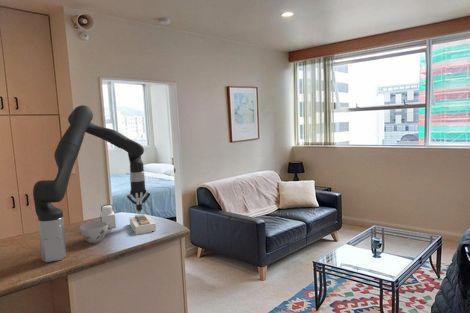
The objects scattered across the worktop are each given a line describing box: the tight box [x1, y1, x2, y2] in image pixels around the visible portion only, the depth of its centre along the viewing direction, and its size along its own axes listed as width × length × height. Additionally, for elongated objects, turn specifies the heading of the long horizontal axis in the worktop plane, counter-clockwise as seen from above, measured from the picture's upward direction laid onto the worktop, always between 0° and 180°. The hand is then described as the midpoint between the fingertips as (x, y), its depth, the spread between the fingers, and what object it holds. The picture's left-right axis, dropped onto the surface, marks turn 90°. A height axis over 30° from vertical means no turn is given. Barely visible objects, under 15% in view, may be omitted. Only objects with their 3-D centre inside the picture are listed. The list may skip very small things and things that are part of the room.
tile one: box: [139, 219, 150, 225], centre depth 172 cm, size 4×4×3 cm
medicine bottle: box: [99, 204, 117, 229], centre depth 181 cm, size 7×7×12 cm
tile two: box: [137, 217, 147, 222], centre depth 177 cm, size 4×4×3 cm
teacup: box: [79, 220, 113, 244], centre depth 160 cm, size 15×12×8 cm
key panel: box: [129, 214, 157, 235], centre depth 178 cm, size 19×10×4 cm, turn 27°
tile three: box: [134, 213, 145, 219], centre depth 183 cm, size 4×4×3 cm
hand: (139, 210), depth 182 cm, fingers closed
